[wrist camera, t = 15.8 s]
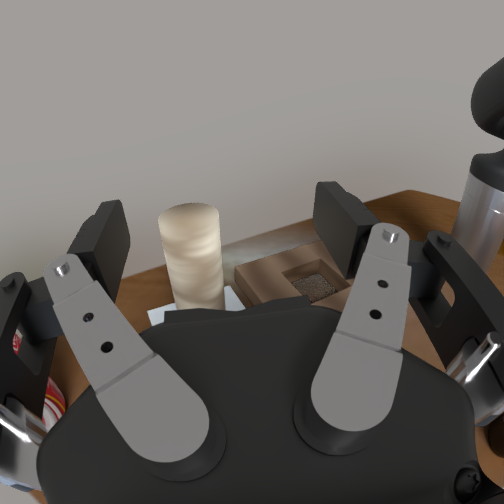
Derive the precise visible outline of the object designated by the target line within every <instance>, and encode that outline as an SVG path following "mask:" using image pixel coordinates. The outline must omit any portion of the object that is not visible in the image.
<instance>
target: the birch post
mask: <svg viewBox="0 0 504 504" xmlns="http://www.w3.org/2000/svg"><path fill="white" fill-rule="evenodd" d="M158 223H159V228H160V233H161V239H162V244H163V249H164V254H165V259H166V264H167V269H168V273H169V278H170V282H171V287H172V291H173V296H174V300H175V304H176V308H177V310H182V309H193V308H206V309H217V310H226V306H225V294H224V282H223V269H222V256H221V243H220V229H219V228H220V227H219V213H218V211H217V209H216V208H214V207H213V206H211V205H207V204H203V203H188V204H182V205H177V206H174V207H172V208H169V209H168V210H166V211H164V212H163V213H162V214H161V215H160V217H159V220H158Z"/></svg>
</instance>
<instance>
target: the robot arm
mask: <svg viewBox="0 0 504 504" xmlns="http://www.w3.org/2000/svg"><path fill="white" fill-rule="evenodd" d="M471 111H472V115H473V118H474V120H475V122H476V124H477V125H478V126H479V127H480V128H481V129H482V130H484V131H485V132H487V133H489V134H491V135H494V136H496V137H498V138H501V139H503V140H504V58H502V59H501V60H500V61H498V62H497V63H496V64H494V65H493V66H492V67H490V68H489V69H488V70H487V71H485V72H484V73H483V74H482V75H481V77H480V78H479V79H478V81H477V83H476V85H475V87H474V90H473V93H472V98H471ZM313 223H314V227H315V230H316V232H317V233H318V235H319V236H320V238H321V240H322V241H323V243H324V245H325V246H326V248H327V250H328V251H329V253H330V255H331V256H332V258H333V260H334V262H335V263H336V265H337V267H338V268H339V270H340V272H341V274H342V275H343V277H344V279H345V280H349V279H355V280H354V283H353V286H352V289H351V291H350V294H349V297H348V300H347V302H346V305H345V308H344V310H343V313H342V312H340V311H338V310H335V309H332V308H328V307H324V306H318V305H311V303H310V300H309V298H308V295H303V296H296V297H288V298H281V299H273V300H270V301H267V302H264V303H262V304H259V305H256V306H253V307H250V308H246V309H243V310H240V311H228V310H217V309H206V308H193V309H182V310H171V311H164V322H162V323H159V324H156V325H154V326H151V327H149V328H148V329H146V330H144V331H142V332H141V333H139V334H138V333H137V332H136V331H135V330H134V329H133V327H132V326H131V325H130V324H129V322H128V321H127V320H126V319H125V317H124V316H123V315H122V313H121V312H120V311H119V309H118V308H117V307H116V306H115V301H116V297H117V293H118V289H119V285H120V281H121V277H122V273H123V270H124V266H125V262H126V259H127V255H128V252H129V248H130V234H129V231H128V226H127V222H126V218H125V215H124V211H123V207H122V203H121V201H120V200H112V201H106V202H102V203H101V204H100V206H99V208H98V210H97V211H96V213H95V215H92V216H91V217H89V218H88V219H87V220H86V221H85V222H84V223H83V225H82V226H81V228H80V230H79V232H78V234H77V235H76V238H75V239H74V240H73V242H72V244H71V246H70V248H69V250H68V252H67V254H64V255H61V256H59V257H57V258H55V259H53V260H52V261H51V262H50V263H49V264H48V265H47V266H46V267H45V269H44V272H43V276H44V277H41V278H39V279H36V280H34V281H31V282H27V280H26V278H25V276H24V275H23V273H21V272H15V273H12V274H10V275H8V276H6V277H5V278H4V279H2V280H1V281H0V483H2V484H4V485H7V486H11V487H14V488H16V489H18V490H21V491H24V492H29V491H32V490H33V489H37V490H40V491H43V494H44V496H45V498H46V501H47V503H48V504H504V489H502V488H501V487H499V486H498V485H496V484H495V483H494V482H492V481H491V480H490V479H489V478H488V477H487V476H486V475H485V474H484V473H483V471H482V469H481V467H480V465H479V463H478V459H477V452H476V444H475V425H476V426H479V427H482V426H486V425H487V424H489V423H490V422H492V421H493V420H494V419H496V418H497V417H498V416H499V415H501V414H502V413H503V412H504V297H503V296H502V294H501V293H500V292H499V290H498V289H497V288H496V286H495V285H494V284H493V283H492V281H491V280H490V279H489V278H488V276H487V273H488V271H489V269H490V267H491V265H492V263H493V261H494V259H495V257H496V254H497V252H498V250H499V247H500V245H501V243H502V240H503V238H504V149H503V150H501V151H499V152H496V153H490V154H476V155H475V156H474V157H473V159H472V162H471V166H470V171H469V175H468V178H467V182H466V186H465V190H464V193H463V197H462V200H461V204H460V207H459V210H458V213H457V216H456V219H455V222H454V225H453V228H452V231H451V234H450V235H448V234H446V233H444V232H441V231H430V232H429V233H428V234H427V237H426V240H425V242H421V241H413V240H409V236H408V234H407V233H406V232H405V231H404V230H403V229H401V228H400V227H398V226H396V225H393V224H389V223H381V222H380V221H379V220H378V219H377V217H376V216H375V215H374V214H373V213H372V212H371V211H370V210H368V208H367V207H366V206H365V205H363V203H362V202H361V201H360V200H359V199H358V198H357V197H355V196H354V195H352V194H350V193H348V192H346V191H345V190H344V189H343V188H342V187H341V186H340V185H339V184H338V183H337V182H334V181H332V182H318V183H317V186H316V193H315V203H314V212H313ZM445 280H446V281H447V282H448V283H449V285H450V286H451V287H452V289H453V291H454V294H455V301H454V304H453V306H452V307H451V306H450V304H449V303H448V301H447V300H446V298H445V297H444V296H443V294H442V293H441V289H442V287H443V285H444V283H445ZM408 301H409V303H410V305H411V306H412V308H413V310H414V311H415V313H416V315H417V317H418V318H419V320H420V322H421V324H422V325H423V327H424V329H425V331H426V333H427V334H428V336H429V338H430V340H431V342H432V344H433V345H434V347H435V349H436V351H437V353H438V355H439V357H440V359H441V361H442V363H443V365H444V367H445V369H446V374H445V373H444V372H442V371H440V370H439V369H437V368H435V367H434V366H432V365H430V364H428V363H427V362H425V361H423V360H422V359H420V358H418V357H417V356H415V355H413V354H412V353H410V352H408V351H407V350H405V349H403V348H402V347H401V345H402V339H403V333H404V327H405V321H406V314H407V306H408ZM16 329H18V330H19V331H20V333H21V334H22V335H23V338H22V341H21V344H20V347H19V351H18V354H16V353H15V351H14V348H13V338H14V335H15V332H16ZM63 334H65V336H66V338H67V340H68V342H69V344H70V346H71V348H72V350H73V352H74V354H75V356H76V358H77V360H78V362H79V364H80V366H81V368H82V370H83V371H84V373H85V375H86V377H87V379H88V380H89V382H90V385H89V386H88V387H87V389H86V390H85V391H84V392H83V393H82V394H81V395H80V396H79V397H78V398H77V400H76V401H75V402H74V403H73V404H72V405H71V406H70V407H69V409H68V410H67V411H66V412H65V413H64V414H63V415H62V416H61V418H60V419H59V420H58V421H57V422H56V423H55V424H54V426H53V427H52V428H51V429H50V430H49V431H48V432H47V430H46V427H45V425H44V423H43V421H42V418H43V410H44V402H45V396H46V389H47V383H48V378H49V373H50V368H51V363H52V358H53V353H54V349H55V345H56V341H57V336H60V335H63Z"/></svg>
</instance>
